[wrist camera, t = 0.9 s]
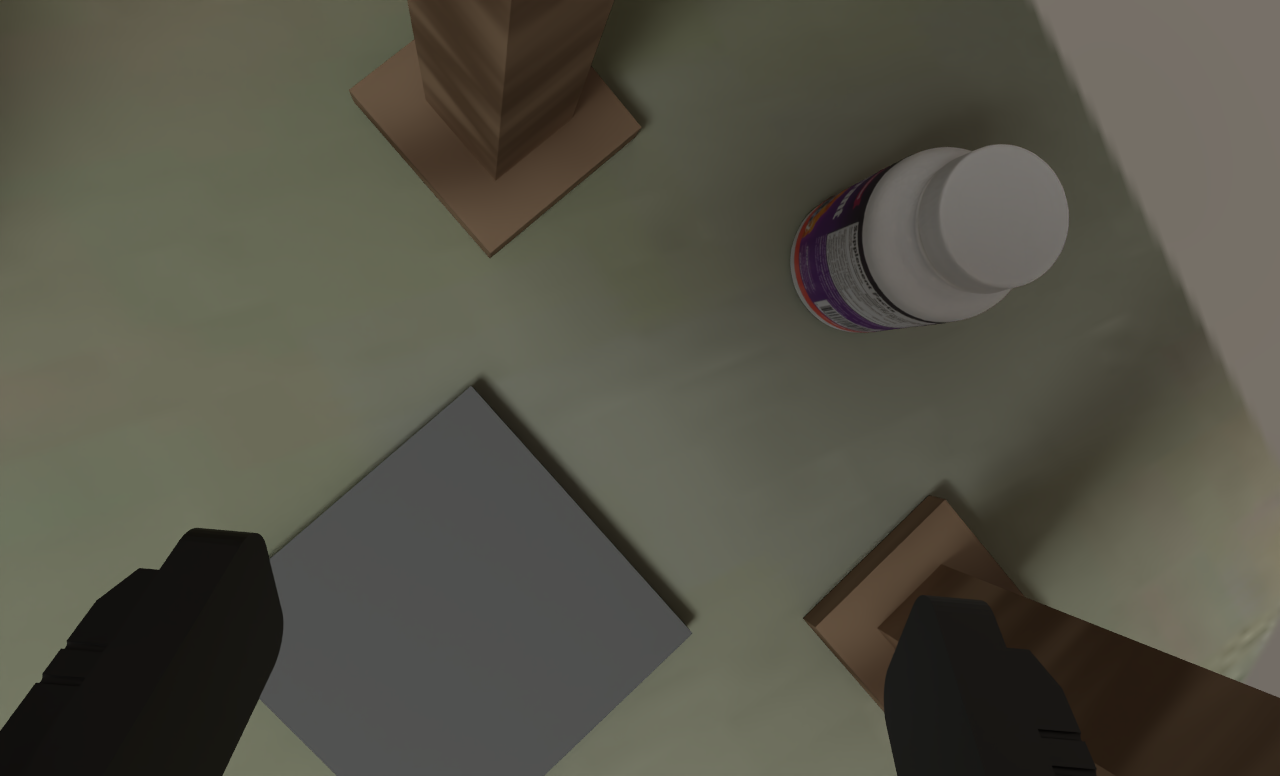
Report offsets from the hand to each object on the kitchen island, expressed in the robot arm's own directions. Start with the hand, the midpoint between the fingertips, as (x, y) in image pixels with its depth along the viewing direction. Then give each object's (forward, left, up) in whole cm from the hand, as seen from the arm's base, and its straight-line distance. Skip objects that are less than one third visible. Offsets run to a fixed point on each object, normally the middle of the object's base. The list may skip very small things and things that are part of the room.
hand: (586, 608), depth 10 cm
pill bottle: (-5, +14, -20) cm, 25 cm away
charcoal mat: (+5, -3, -20) cm, 21 cm away
